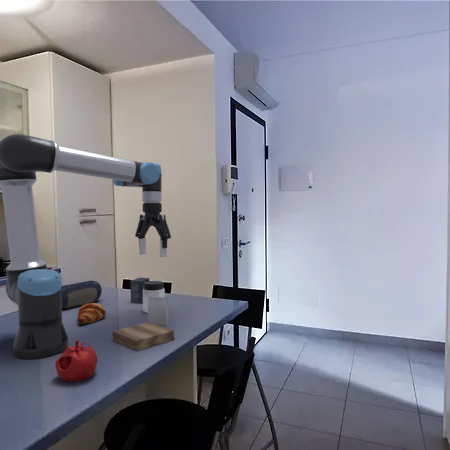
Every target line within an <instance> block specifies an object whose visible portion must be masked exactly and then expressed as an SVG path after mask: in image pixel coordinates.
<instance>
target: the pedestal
mask: <svg viewBox="0 0 450 450" xmlns="http://www.w3.org/2000/svg"><path fill="white" fill-rule="evenodd" d="M174 340H175V329H171V328H168V327H166V326H160V325H157V324H154V323H151V322H148V321H147V322H144V323H140V324H139V323H138V324H135V325H132V326H126V327H123V328H119V329H115V330H112V341H113V342H116V343H117V344H120V345H122V346H124V347H126V348H129V349H131V350H133V351H136V352H138V351H141V350H145V349H149V348H152V347H154V346H157V345H161V344H164V343H168V342H171V341H174Z"/></svg>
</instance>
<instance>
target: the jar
mask: <svg viewBox="0 0 450 450" xmlns="http://www.w3.org/2000/svg"><path fill="white" fill-rule="evenodd" d="M165 291H166V290H165V288H164V281H161V280H149V281H148V282H144V289H143V303H142V311H143V312H144V313H147V314H148V306H149V297H166V296H165Z"/></svg>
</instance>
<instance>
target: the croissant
mask: <svg viewBox="0 0 450 450" xmlns="http://www.w3.org/2000/svg"><path fill="white" fill-rule="evenodd" d="M80 306H81V307H80V308H79V309H78V311H77V322H78V323H79V324H80V325H84V324H85V325H86V324H93V323H95V322H98V321H100V320H101V319H103V318H104V317H105V316H106V314H107V313H106V310H105V306H104V305H103V304H100V303H96V302H91V303H87V304H83V305H80Z"/></svg>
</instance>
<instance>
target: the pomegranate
mask: <svg viewBox="0 0 450 450" xmlns="http://www.w3.org/2000/svg"><path fill="white" fill-rule="evenodd" d="M84 344H89V343H88V342H86V341H85V342H84V341H83V342H82V343H80V340H79V339H76V340H75V341H74V346H70V345H69V346H63V347H68V348H67V349H66V350H64V351H63V352H62V354H61V355H60V357H59V358H57V359H56V361H55V362H54V363H55V364H54V367H55V370H56V373H57V375H58V377H59V378H60V379H61V380H63V381H66V382H75V383H77V382H81V381H83V380H87V379H89V378H91V377H92V376H93V375H94V374H95V372H96V369H97V364H98V355H97V353H96V350H95V349H94V348H93V347H92V345H91V346H90V345H88V346H84Z"/></svg>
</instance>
